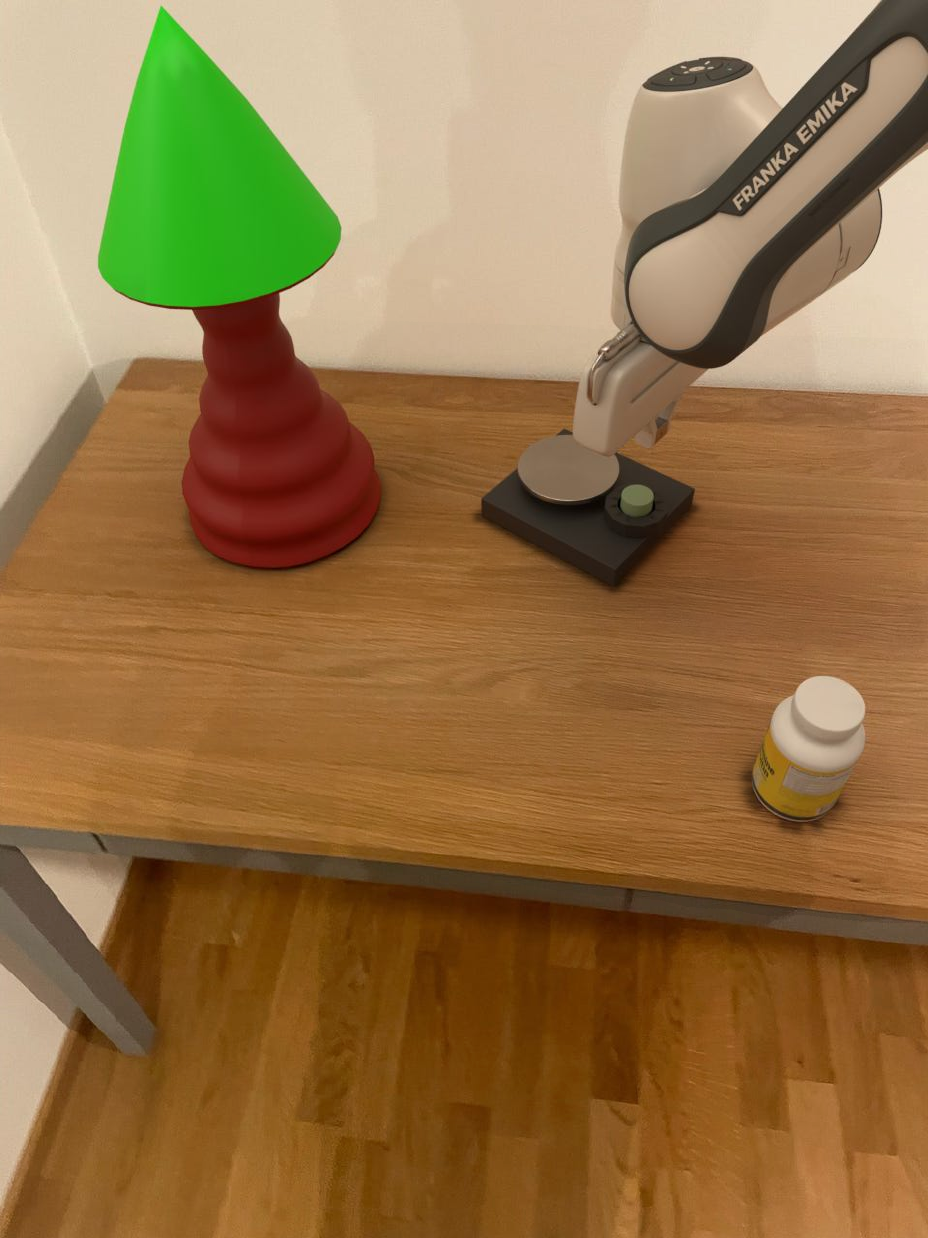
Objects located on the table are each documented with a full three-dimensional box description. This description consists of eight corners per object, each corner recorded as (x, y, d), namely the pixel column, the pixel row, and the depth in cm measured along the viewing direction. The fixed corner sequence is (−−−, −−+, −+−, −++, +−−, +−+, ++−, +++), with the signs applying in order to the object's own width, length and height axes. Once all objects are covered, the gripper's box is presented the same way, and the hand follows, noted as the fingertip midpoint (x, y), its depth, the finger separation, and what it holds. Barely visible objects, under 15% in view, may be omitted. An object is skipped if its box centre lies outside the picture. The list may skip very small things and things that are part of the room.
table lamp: (158, 556, 92) (-53, 52, 58) (236, 433, 104) (100, -42, 70) (347, 585, 88) (239, 65, 54) (404, 454, 101) (346, -37, 67)
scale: (695, 508, 93) (701, 477, 90) (617, 589, 86) (621, 559, 83) (563, 445, 100) (564, 415, 97) (481, 516, 94) (480, 486, 91)
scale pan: (638, 464, 92) (639, 459, 91) (580, 519, 87) (580, 515, 87) (557, 426, 96) (557, 422, 96) (497, 477, 91) (496, 472, 91)
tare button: (658, 505, 88) (659, 492, 87) (640, 522, 87) (642, 510, 86) (631, 492, 90) (633, 480, 89) (614, 508, 88) (615, 496, 87)
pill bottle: (773, 739, 75) (807, 649, 66) (850, 782, 72) (895, 694, 63) (734, 795, 72) (764, 709, 63) (812, 842, 69) (855, 758, 60)
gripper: (627, 372, 65) (614, 517, 75) (770, 252, 75) (741, 395, 85) (555, 343, 68) (552, 486, 78) (701, 231, 77) (681, 372, 88)
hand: (651, 438), depth 82 cm, fingers closed
